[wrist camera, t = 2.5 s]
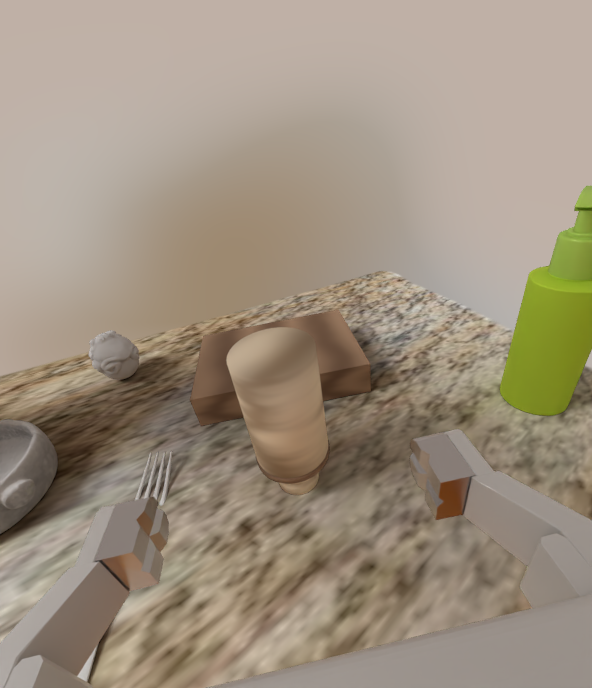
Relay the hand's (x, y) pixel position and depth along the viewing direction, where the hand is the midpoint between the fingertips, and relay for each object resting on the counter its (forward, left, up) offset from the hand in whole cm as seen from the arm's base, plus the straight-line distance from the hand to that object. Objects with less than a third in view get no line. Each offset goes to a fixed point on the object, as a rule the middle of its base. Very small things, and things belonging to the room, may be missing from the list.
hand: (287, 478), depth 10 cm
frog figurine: (-42, +5, -17) cm, 46 cm away
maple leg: (-10, +8, -17) cm, 21 cm away
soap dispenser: (+4, +29, -17) cm, 34 cm away
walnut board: (-22, +18, -17) cm, 33 cm away
